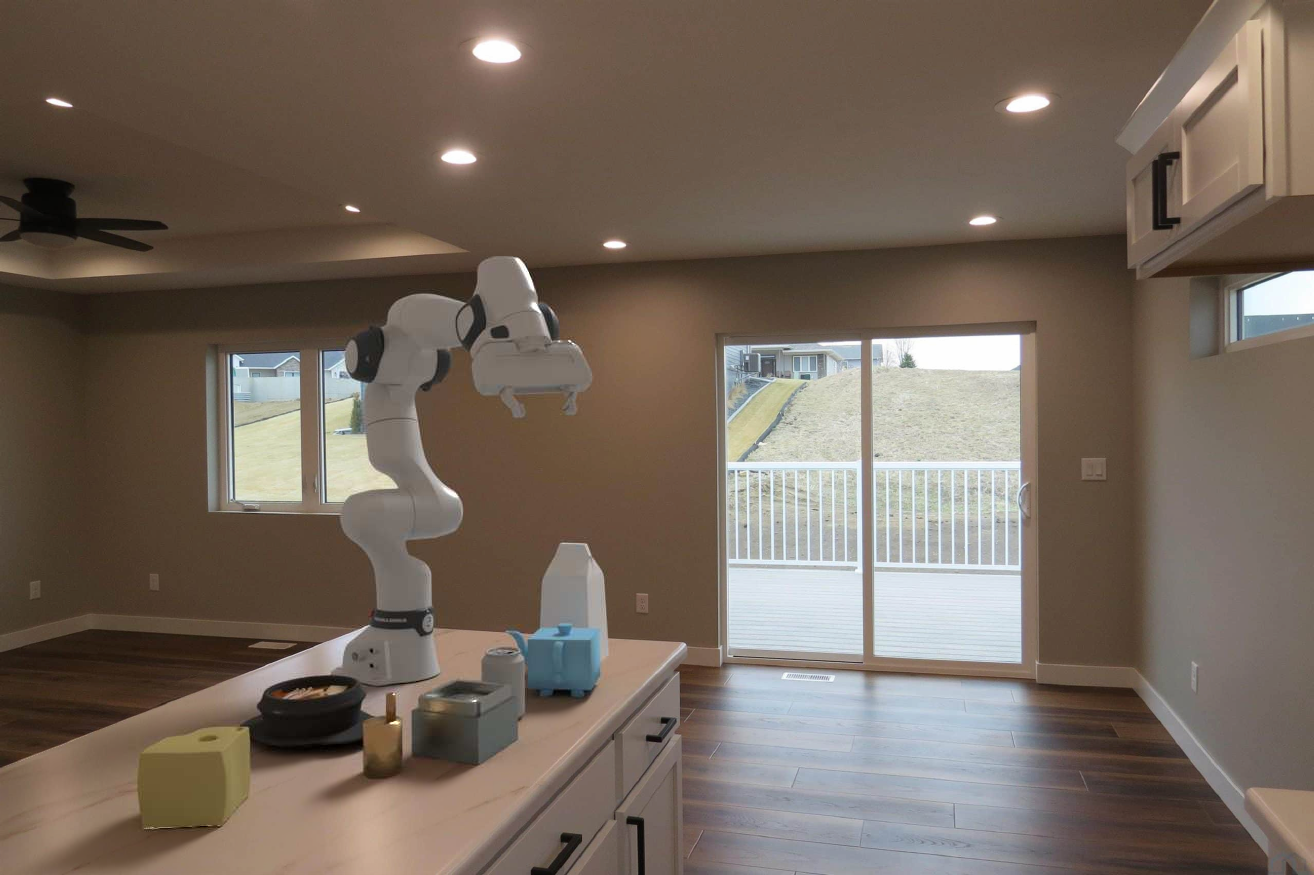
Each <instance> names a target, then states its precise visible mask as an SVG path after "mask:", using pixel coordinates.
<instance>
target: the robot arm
mask: <svg viewBox="0 0 1314 875" xmlns="http://www.w3.org/2000/svg"><path fill="white" fill-rule="evenodd" d="M476 274H477V280H476V281H477V282H476V286H475V289H474V291H473V294H472V297H471V298H469V300H467V301H466V302H463V301H461V300H456V299H454V298H450V297H447V296H443V295H440V294H439V295H438V294H433V293H415V294H410V295H408V296H404V297H402V298H400V299H398V300H396V301H395V302H394V303H393V304H392V305H391V307H390V308H389V310H388V313H387V318H386V319H387V320H386V324H385V325H383V326H381V327H380V326H377V325H376V324H374V323H372V324H369V326H367V328H366V329H364V330H361V331H358V332H356V333H355V334H353V335H352V336H351V337H350V338H349V339H348V341H347V342H346V345H345V352H344V362H345V363H344V364H345V368H346V371H347V373H348V374H349V376H350V377H351V378H352V379H353V380H355V381H358V382H360V383H364V384H365V383H366V387H365V389H364V397H363V399H364V400H363V419H364V420H363V422H364V430H365V432H364V433H365V438H366V439H365V440H366V448H367V456H368V461H369V463H370V464H371V466H372V467H373V469H375V470H376V471H378V472H379V473H381V474H384V475H386V476H387V477H388V478H390V479H391V480H392V481H393V482H394V484H395V486H397V488H379V489H378V488H375V489H369V490H365V491H361V492H356V493H354V494H350V495H349V496H348V497H347V498H346V499H345V501H344V502H343V505H342V506H341V509H340V516H339V518H340V519H339V520H340V521H339V522H340V526H341V528H342V530H343V533H344V534H345V535H346V536H347V537H348V539H350V540H351V541H352V542H354V543H355V544H356V545H358V546H359V547H360V548H361V549H362V550H363V551H364V552H365V554H366V555H367V556H368V558H369V560H370V562H371V565H372V567H373V571H374V575H375V587H376V588H375V589H376V590H375V591H376V607H375V608H374V609H372V610H370V611H367V612H365V614H367V615H366V616H365V618H367V619H368V618H370V617H371V619H370V622H369V626H367V627H366V628H365V629H364V630H363V631H361V632H360V633H359V634H358V635H356V636H355V637H354V638H353V639H352V640H350V641H349V642H348V643H347V644H346V646H345V648H344V651H343V655H342V663H341V664H340V665H338V666H336V667H335V668H333V669H332V670H331V672H330V675H337V676H347V677H352V678H355V679H357V680H358V681H359V682H360V684H366V685H370V686H375V687H381V686H387V685H392V684H401V683H403V684H404V683H411V682H416V681H417V682H418V681H422V680H427V679H430V678H432V677H436V676H438V675H439V673H441V668H440V665H439V662H438V657H437V653H436V652H437V651H436V648H435V640H434V627H435V610H434V609H435V608H434V607H435V606H434V604H433V603H432V602H433V601H432V600H433V599H432V597H433V596H432V594H433V593H432V592H433V591H432V571H431V569H430V566H429V565H428V564H427V563H426V562H424V561H423V560H421V559H419V558H417V557H415V556H413V555H410V554H409V552H408V549H407V546H406V542H407V541H413V540H425V539H436V538H439V537H442V536H446V535H449V534H451V533H454V532H456V531H457V529H458V528H459V527H460V525H461V523H462V521H463V516H464V507H463V502H462V500H461V498H460V497H459V495H458V494H457V492H456V491H455V490H453V489H451V488H450V487H448V486H447V485H446V484H444V483H443V482H442V481H441V480H440V479H439V477H437V476H436V475H435V473H434V472H433V470H432V468H431V467H430V464H429V463H428V460H427V458H426V455H425V452H424V448H423V443H422V437H421V432H420V425H419V419H418V414H417V410H416V408H417V407H416V401H415V397H416V392H417V390H419V388H420V390H421V391H423V392H424V393H427V392H430V391H431V389H432V387H434V386H436V385H438V384H440V383H441V382H442V381H444V379H445V378H446V377H447V376H448V375H449V373H450V371H451V367H452V363H453V362H452V360H453V358H452V351H451V349H453V348H458V347H463V349H464V350H465V351H467V352H468V353H469V354H470V356H471V358H472V363H471V373H472V378H473V383H474V388H475V389H476V391H477V392H478V393H479V394H481V396H500V399H501V401H502V403H504V404H505V406H507V407H508V408H509V409H510V411H511V413H512V417H513V418H514V419H515V418H516V419H518V418H520V419H521V418H524V416H525V415H526V414H527V411H526V409H525V404H524V402H523V403H520V402H518V400H517V399H516V398H515V397H514V395H533V394H534V395H535V394H538V395H539V394H563V395H564V398H567V401H566V402H565V404H564V405H563V406H562V409H563V411H564V414H565V415H566V416H570V415H571V416H574V415H576V413H577V412H578V407H577V403H576V401H577V397H578V393H583V392H585V391H586V390H587V389H588V388H589V387H590V386H591V384H592V382H593V380H594V377H593V373H592V370H591V369H590V366H589V364H588V362H587V359H586V358H585V356H584V355H583V352H582V349H581V347H580V346H579V345H577V344H576V343H573V342H572V341H571V340H563V341H562V340H559V337H560V330H561V328H560V322H559V319H558V317H557V316H556V314H555V312H554V311H553V310H552V309H551V307H550V306H548V305H547V303H546V302H543V301H539V300H538V297H539V296H538V294H537V292H536V288H535V285H534V282H533V279H532V277H531V275H530V273H529V270H528V268H527V267H526V265H525V263H524V262H523V261H522V260H521V259H520V258H519V257H516V256H512V255H502V254H501V255H498V254H497V255H494V256H490V257H488V258H486V259H484V260H482V261H481V262H480V263H479V265H478V266H477V273H476Z"/></svg>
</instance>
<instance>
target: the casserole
mask: <svg viewBox="0 0 1314 875" xmlns="http://www.w3.org/2000/svg"><path fill="white" fill-rule="evenodd" d="M366 697H367V692H366V691H365V690H364V689H363V687H362V683H360V682H359V681H358V680H357V679H355V678H352V677H347V676H337V675H331V674H329V675H328V674H327V675H325V674H324V675H312V676H305V677H297V678H292V679H288V680H284V681H280V682H277V683H275V684H273V685H270V686H269V687H267V688H266V689H265V690H264V691H263V693H262V695H261V699H260V701H258V703H257V704H256V709H257V711H259V712H260V713H261V714H259V715H257V716H253V717H252V718H249V719H247V720H245V721H244V722H243V723H241V724H240V725H239V726H238V727H248V728H249V735H250V738H252V739H254V740H256V741H257V742H260V743H262V744H266V745H270V746H277V747H283V748H298V749H300V748H302V749H304V748H305V749H306V748H315V747H321V746H324V745H343V744H345V745H346V744H351V743H355V742H358V741H362V740H363V722H364V721H365V720H367V719H369V718H373V717H377V715H376V716H375V715H372V714H370V713H368V712H366V711H364V710H362V705H363V701H364V700H365V699H366Z"/></svg>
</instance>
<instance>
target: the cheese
mask: <svg viewBox="0 0 1314 875" xmlns="http://www.w3.org/2000/svg"><path fill="white" fill-rule="evenodd" d="M250 738H251V736H250V735H249V728H248V727H239V726H212V727H210V726H209V727H203V728H199V729H197V730H195V731H193V732H190V733H187V734H182V735H176V736H175V735H174V736H167V737H164V738H163V739H161V740H159V741H158V742H155V743H153V744H151V745H150V746H148V747H146V748H145V749H143V751H142V752H141V753H140V754H139V757H138V758H139V760H138V768H137V770H138V771H137V798H138V799H137V800H138V805H139V806H138V807H139V813H140V818H141V823H142V829H143V828H146V827H147V828H148V827H149V828H150V827H154V828H158V827H172V828H173V827H174V828H173V829H178V828H177V827H189V826H207V825H222V824H223V823H224V822H225V821H226V820H227V819H228V818H229V817H230V818H231V817H232V815H233V814H234V813H235V812H236V810H237V809H238V808H239V807H240V806H241V805H242V804H243V803H244V802H245V801H246V800H245V799H246V798H247V799H248V798H249V796H250V787H251V786H250V785H251V739H250ZM244 800H245V801H244ZM243 801H244V802H243ZM242 802H243V803H242ZM241 803H242V804H241ZM239 805H240V806H239ZM237 807H238V808H237ZM234 811H235V812H234ZM233 812H234V813H233ZM230 818H229V819H230ZM229 819H228V820H229ZM228 820H227V821H228ZM227 821H226V822H227ZM226 822H225V823H226ZM225 823H224V824H225ZM224 824H223V825H224ZM223 825H222V826H223ZM175 827H176V828H175Z"/></svg>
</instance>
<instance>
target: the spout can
mask: <svg viewBox="0 0 1314 875" xmlns="http://www.w3.org/2000/svg"><path fill="white" fill-rule="evenodd" d="M396 698H397V693H396V692H387V693H386V694H385V715H378V716H377V715H376V717H373V718H369V719H367V720H365V721H364V722H363V739H362V775H363V777H364V778H366V779H370V780H386V779H391V778H393V777H397V776H399V775H400V774H401V773H402V772H403V769H404V768H403V767H404V765H403V763H404V762H403V757H404V754H403V718H402V717H401V716H398V715H397V702H396V701H397V699H396Z"/></svg>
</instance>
